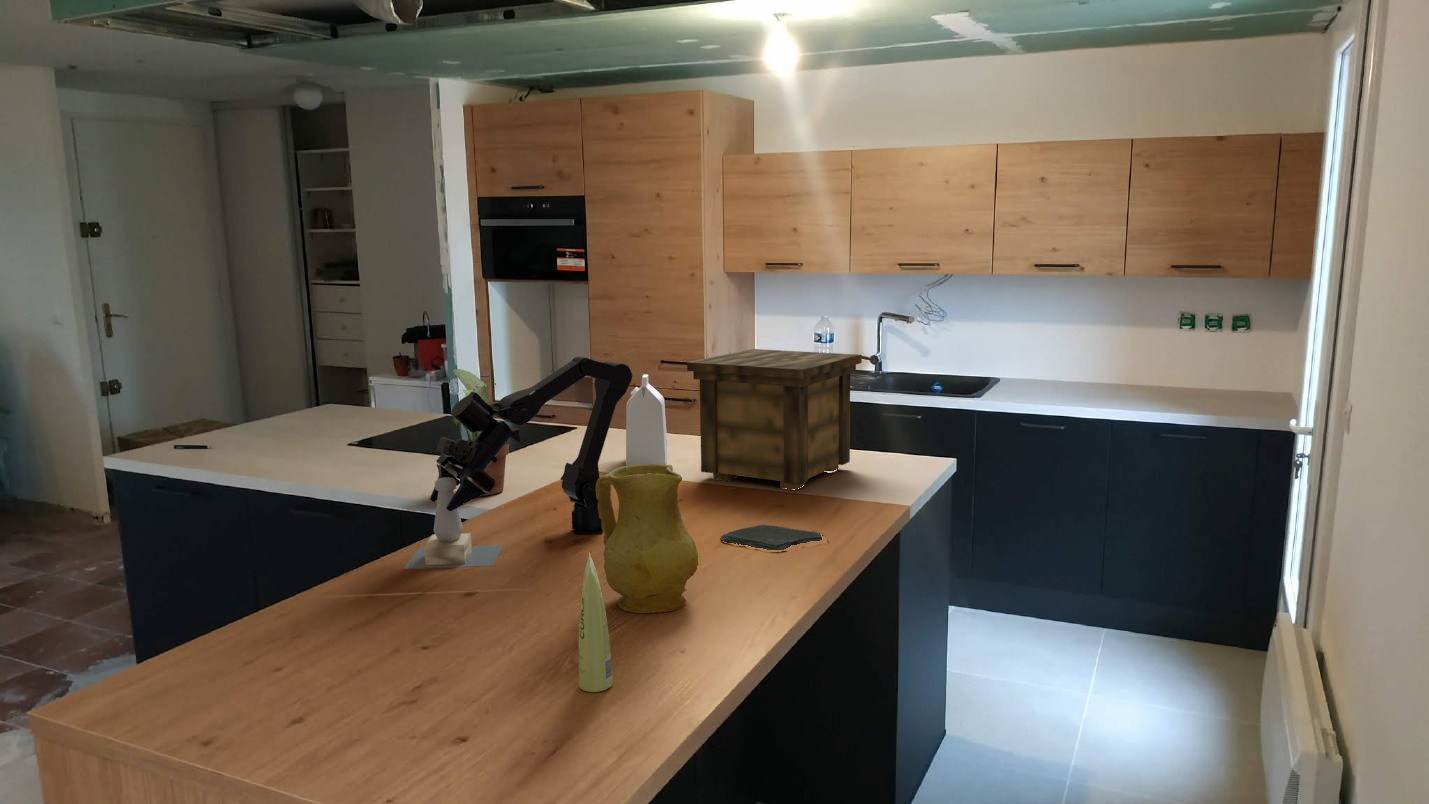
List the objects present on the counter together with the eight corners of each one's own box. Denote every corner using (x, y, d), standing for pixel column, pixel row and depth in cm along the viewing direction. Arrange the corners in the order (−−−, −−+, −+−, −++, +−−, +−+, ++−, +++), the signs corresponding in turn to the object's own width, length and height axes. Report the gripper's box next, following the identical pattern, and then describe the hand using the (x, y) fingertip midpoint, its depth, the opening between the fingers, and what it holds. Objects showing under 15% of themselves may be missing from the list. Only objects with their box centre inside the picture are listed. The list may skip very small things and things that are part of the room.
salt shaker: (444, 545, 204) (440, 483, 202) (429, 540, 208) (424, 479, 206) (468, 538, 208) (465, 478, 206) (453, 533, 212) (449, 474, 210)
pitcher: (626, 624, 171) (623, 480, 168) (588, 596, 187) (584, 464, 185) (715, 609, 178) (713, 471, 176) (671, 583, 195) (669, 456, 192)
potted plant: (441, 498, 259) (432, 364, 253) (476, 484, 273) (468, 357, 267) (491, 503, 253) (484, 366, 247) (524, 488, 267) (518, 358, 261)
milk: (665, 467, 290) (663, 378, 285) (626, 467, 290) (623, 379, 286) (668, 458, 302) (666, 372, 297) (630, 458, 302) (627, 373, 297)
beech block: (471, 551, 213) (470, 533, 212) (464, 563, 205) (463, 544, 204) (433, 552, 212) (432, 534, 212) (425, 564, 204) (424, 546, 204)
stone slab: (718, 555, 210) (718, 546, 209) (721, 532, 226) (721, 523, 226) (832, 555, 209) (832, 546, 208) (826, 531, 225) (826, 523, 225)
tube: (569, 686, 148) (563, 559, 145) (594, 674, 152) (589, 551, 149) (595, 696, 145) (590, 567, 142) (620, 684, 149) (616, 558, 145)
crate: (689, 480, 273) (687, 362, 268) (754, 456, 302) (753, 348, 297) (803, 496, 254) (803, 369, 249) (860, 469, 283) (861, 354, 278)
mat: (503, 546, 217) (503, 544, 217) (493, 567, 203) (492, 565, 203) (419, 549, 216) (419, 547, 216) (403, 570, 202) (403, 568, 202)
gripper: (442, 416, 214) (395, 474, 209) (477, 429, 199) (427, 491, 194) (479, 447, 220) (433, 504, 215) (516, 461, 205) (468, 523, 200)
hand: (439, 505), depth 206 cm, fingers open, 9 cm apart
